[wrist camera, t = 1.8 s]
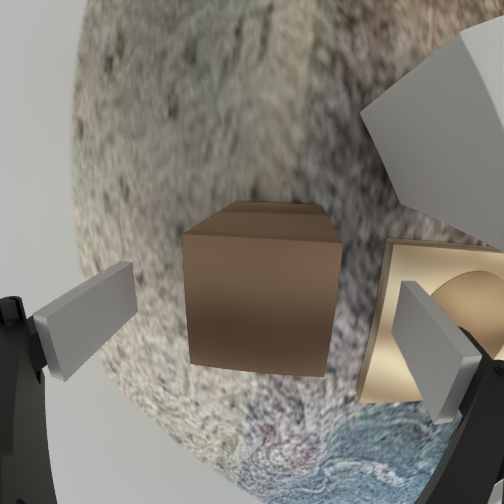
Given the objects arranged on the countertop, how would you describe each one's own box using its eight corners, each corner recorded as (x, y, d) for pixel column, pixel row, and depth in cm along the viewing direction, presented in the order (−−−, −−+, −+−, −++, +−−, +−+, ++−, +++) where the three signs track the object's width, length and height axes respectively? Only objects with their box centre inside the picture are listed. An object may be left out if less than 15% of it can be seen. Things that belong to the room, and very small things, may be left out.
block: (236, 200, 22) (182, 234, 12) (321, 205, 21) (343, 243, 11) (236, 279, 24) (190, 363, 13) (315, 284, 23) (323, 377, 13)
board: (385, 237, 21) (394, 245, 19) (533, 251, 19) (546, 258, 17) (356, 388, 25) (359, 404, 23) (491, 378, 23) (499, 390, 21)
